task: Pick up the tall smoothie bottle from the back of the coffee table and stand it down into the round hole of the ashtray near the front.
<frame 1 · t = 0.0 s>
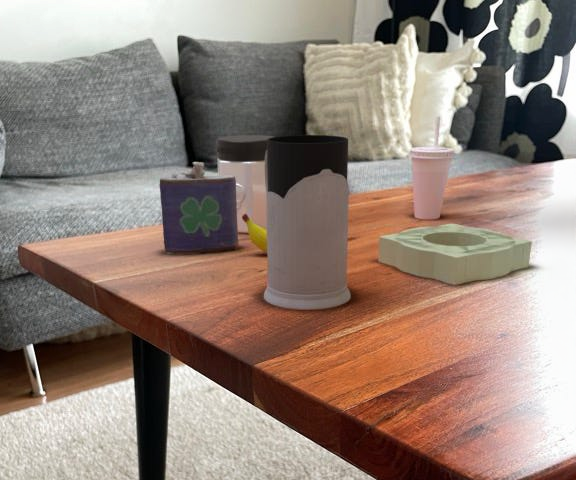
fruit: (285, 256, 87), on the table
smoothie: (426, 218, 107), on the table
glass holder: (295, 290, 75), on the table
ashtray: (452, 264, 83), on the table
jar: (249, 228, 102), on the table
flask: (202, 252, 90), on the table
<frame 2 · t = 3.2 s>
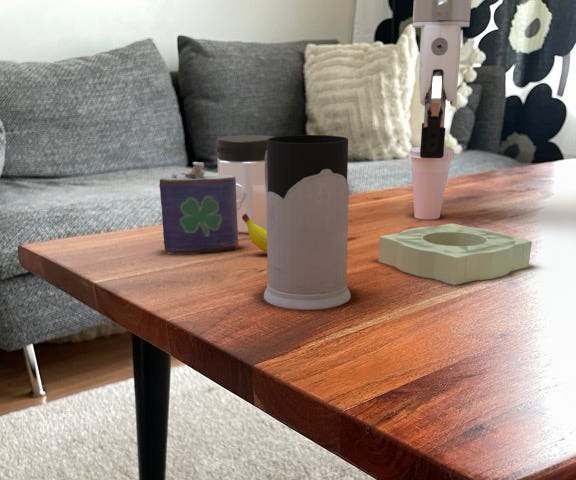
hand: (431, 153, 103), 9 cm above the table, tool pointing down, fingers closed on smoothie, 6 cm apart
smoothie: (426, 218, 107), on the table, touching gripper
everything else where it was.
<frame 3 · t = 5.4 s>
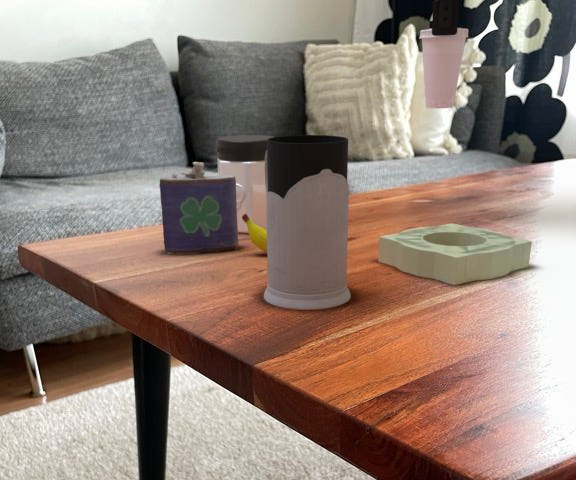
hand: (443, 34, 96), 24 cm above the table, tool pointing down, fingers closed on smoothie, 6 cm apart
smoothie: (439, 109, 100), point 15 cm above the table, touching gripper
everything else where it was.
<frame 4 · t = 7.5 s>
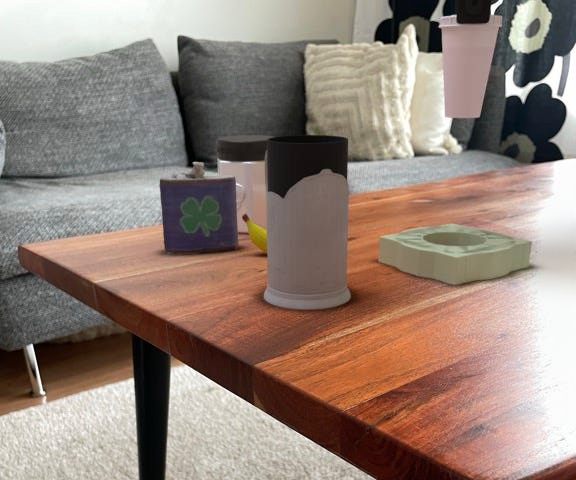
hand: (470, 23, 74), 25 cm above the table, tool pointing down, fingers closed on smoothie, 6 cm apart
smoothie: (462, 118, 78), point 16 cm above the table, touching gripper
everything else where it was.
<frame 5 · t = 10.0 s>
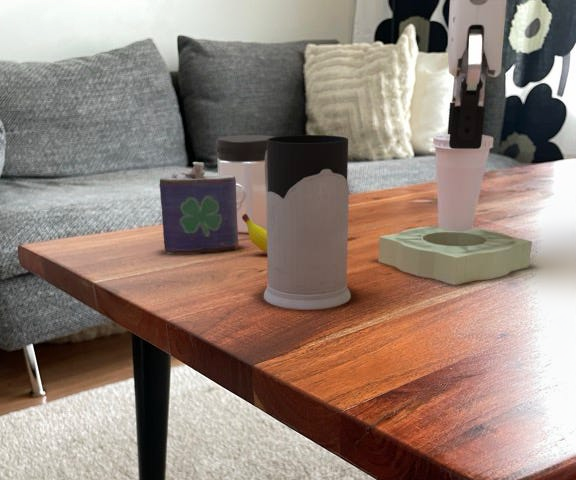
hand: (463, 142, 77), 13 cm above the table, tool pointing down, fingers closed on smoothie, 6 cm apart
smoothie: (455, 229, 81), point 4 cm above the table, touching gripper
everything else where it was.
when the fingers open (9 cm above the table, at t = 11.7 s): smoothie stays where it is, resting in ashtray.
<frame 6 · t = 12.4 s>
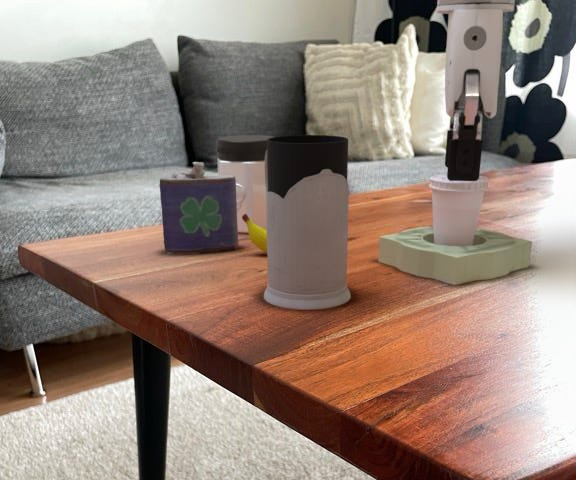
hand: (460, 173, 79), 10 cm above the table, tool pointing down, fingers open, 9 cm apart
smoothie: (451, 265, 83), resting in ashtray
everything else where it was.
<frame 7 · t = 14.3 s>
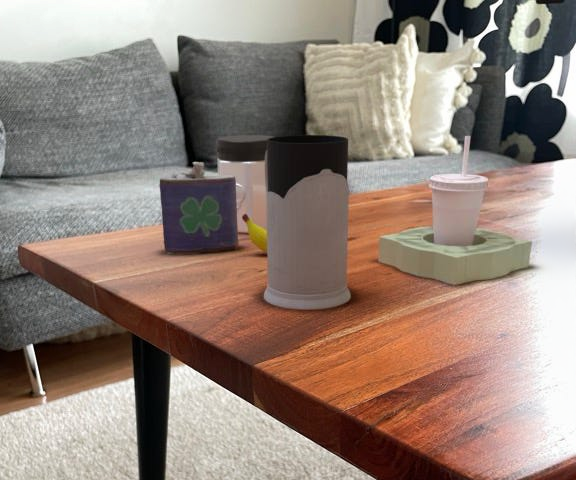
hand: (557, 1, 79), 27 cm above the table, tool pointing down, fingers open, 9 cm apart
nothing on the table moved.
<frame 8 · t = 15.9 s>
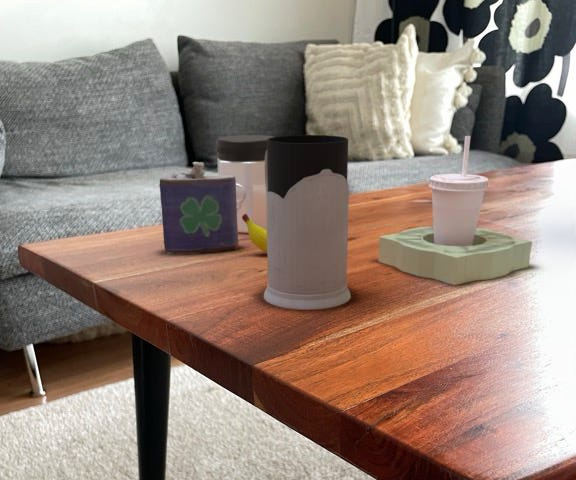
nothing on the table moved.
at the end: smoothie 0.1 cm off-centre in the ashtray, point 0.0 cm above the ashtray's base; smoothie tilted 0°; the gripper is holding nothing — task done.
